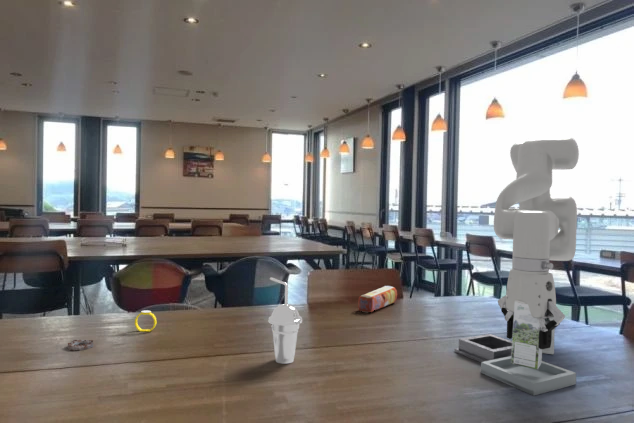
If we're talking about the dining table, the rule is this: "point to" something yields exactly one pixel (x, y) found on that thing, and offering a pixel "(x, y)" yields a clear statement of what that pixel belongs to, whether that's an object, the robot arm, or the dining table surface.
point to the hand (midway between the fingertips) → (528, 342)
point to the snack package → (377, 299)
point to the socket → (484, 347)
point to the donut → (80, 345)
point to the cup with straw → (284, 329)
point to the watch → (145, 314)
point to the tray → (529, 375)
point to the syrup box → (525, 338)
